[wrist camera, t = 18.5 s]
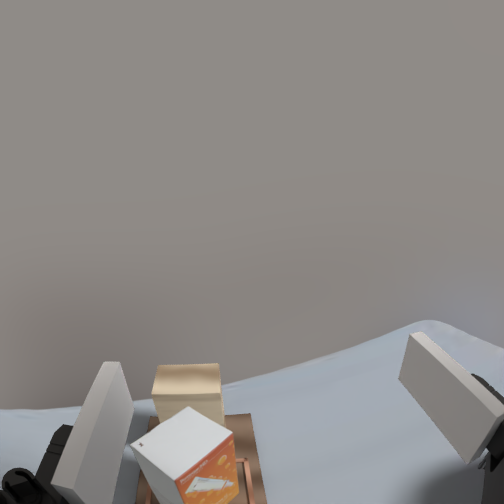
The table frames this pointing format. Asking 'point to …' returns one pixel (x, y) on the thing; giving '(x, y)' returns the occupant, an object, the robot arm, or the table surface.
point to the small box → (189, 460)
